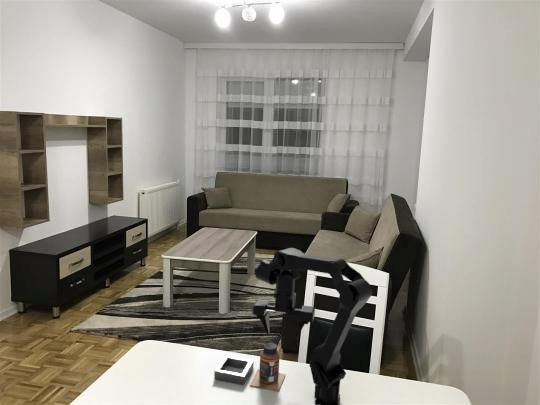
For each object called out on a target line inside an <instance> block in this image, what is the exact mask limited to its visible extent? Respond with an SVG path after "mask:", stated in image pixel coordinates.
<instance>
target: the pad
mask: <svg viewBox="0 0 540 405" xmlns="http://www.w3.org/2000/svg"><path fill="white" fill-rule="evenodd" d="M259 371H260V368H259V369H257V370H256V373H255V374H254V375H253V378H252V380H251V382H250V384H249V387H253V388H257V389H263V390H269V391H272V392H273V391H274V392H280V389H281V387H282V385H283V383H284V380H285V377H286V374H285V373H281V372H280V373H279V377H278V381H277V382H276V383H273V384H265V383H263V382H261V381H260V379H259Z"/></svg>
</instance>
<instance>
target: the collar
mask: <svg viewBox="0 0 540 405" xmlns="http://www.w3.org/2000/svg"><path fill="white" fill-rule="evenodd" d="M228 367H230V368H235V369H240V370H243V371H242V373H239V372H236V371H229V370H226V369H227V368H228ZM253 370H254V360H253V359H248V358H243V357H237V356H232V355H230V356H229V355H227V354H226V355H224V357H223V358H222V359H221V361H220V362H219V364H218V365H217V367H216V368H215V370H214V374H213V375H214V376H213V379H214V381H218V382H219V381H220V382H223V383H229V384H234V385H239V386H245V385H246V383H247V381H248V379H249V377H250V376H251V374H252V372H253Z"/></svg>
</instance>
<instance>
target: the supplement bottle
mask: <svg viewBox="0 0 540 405" xmlns="http://www.w3.org/2000/svg"><path fill="white" fill-rule="evenodd" d="M259 355H260V356H259V357H260V358H259V369H260V371H259V379H260V381H261V382H263V383H265V384H273V383H276V382H277V381H278V377H279V371H280V353H279V351H278V346H277V344H276V343H273V342H268V343H267V342H266V343H264V345H263V349H262V350H261V351H260V353H259Z"/></svg>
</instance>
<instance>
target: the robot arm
mask: <svg viewBox="0 0 540 405" xmlns="http://www.w3.org/2000/svg"><path fill="white" fill-rule="evenodd" d="M259 262H260V264H258V266H257V267H256V269H255V273H254V275H255V278H256V280H258V281H261V282H264V283H266V284H267V285H271V286H274V285H275V287H274V291H273V298H274V305H270V302H269V300H264V299H263V300H262V299H257V300H256V301H255V303H254V304H253V306H252V315H254V316H256V318H258V319H259V320H260V322H261V323H262V326H263V327H264V330H265V333H266V335H268V336H269V335H270V329H271V328H270V312H271V313H275V314H276V313H278V314H284V315H285V314H286V315H292V316H298V317H299V320H298V323H297V329H296V340H299V336H300V334H301V331H302V330H303V328H304V326H305V325H309V323H313V322H314V319H315V315H316V308H315V307H314V306H311V305H309V306H308V305H301V308H295V305H296V298H297V293H296V292H295V281H296V280H297V279H299V278H302V277H301V274H300V273H299V272H298V271H297V269H299V270H306V271H311V272H315V273H316V272H317V273H323V274H326V275H327V274H329V276H330V277H331V279H332V284H333V287H334V289H335V290H336V291H337V292H336V293H338V294H339V296H338V305H339V309H338V311H337V313H336V316H335V318H334V321H333V322H332V324H331V328H330V330H329V332H328V334H327V336H326V339H325V341H324V343H322V344H321V345H319V346H317V347H315V348H314V349H313V350H312V352H311V356H310V358H308V360H309V369H310V372H311V376H312V381H313V384H315V386H314V397H313V398H314V399H315V400H314V404H315V405H339V403H340V397H341V394H340V387H341V380H343V379H345V376H346V374H347V372H346V371H345V369H344V367H343V366H342V364H341V362H340V361H341V358H342V357H341V353H340V350H341V348H342V346H343V343H344V342H345V339H346V337H347V335H348V333H349V330H350V328H351V327H352V324H353V322H354V319H355V317H356V315H357V313H358V312H359V310H361V309H362V308H363V307H364V306H365V305H366V304H367V302H368V301H369V300H370V298H371V296H372V295H373V289H372V286H371V284H370V283H369V282H368V281H367V280H366V279H365V278H364V277H363V275H362V274H361V273H360V272H359V271H357V270H356V269H354V268H353V267H352V266H350V264H349V263H348V261H346V260H345V258H344V259H343V258H340V257H339V258H333V257H327V256H320V255H314V254H313V255H312V254H307V253H303V251H301V250H300V249H297V248H295V247H288V248H284V249H280V250H278V251H275V253H274V255H273V258H272V259H271V261H269V260H268V259H262V260H260V261H259ZM344 277H345V278H346V279H347V280H349V281H350V282H348V283H347V282H346V281H345V279H344Z"/></svg>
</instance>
